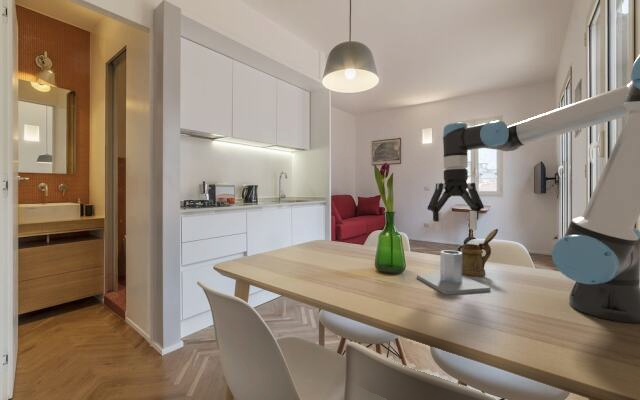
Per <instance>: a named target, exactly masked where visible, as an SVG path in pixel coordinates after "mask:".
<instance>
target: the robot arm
mask: <svg viewBox="0 0 640 400" xmlns="http://www.w3.org/2000/svg"><path fill="white" fill-rule="evenodd" d="M630 72H631V73H630V79H631V81H630V83H628V84H626V85H623V86H619V87H617V88H614V89H612V90H609V91H606V92H603V93H600V94H597V95H594V96H592V97H589V98H586V99H585V98H584V99H582V100H579V101H577V102H574V103H571V104H568V105H565V106H562V107H560V108H556V109H554V110H551V111H548V112H546V113H542V114H539V115H537V116H534V117H531V118H528V119H526V120H522V121H520V122H517V123H514V124H511V125H507V123H506V122H505V121H503V120H495V121H488V122H485V123H484V122H483V123H480V124H477V125H472V126H468V124H467V123H466V122H453V123H447V124H446V125H445V126H444V127H443V132H442V134H443V136H442V141H443V142H442V144H443V169H445V170H444V171H443V181H444V183H443V182H440V183H439V182H438V183H435V188H434V192H433V195H432V197H431V199H430V202H429V203H428V206H427V207H426V209H427V210H428V211H431V212H432V220H433V222H434V231H435V232H442V230H443V226H442V225H443V224H442V223H443V221H442V217H443V216H442V212H441V210H442V209H443V207H444V206H445V205H446V202H447V201H448V200H449V198H451V197H460V198H462V199H463V200H464V201H465V203H466V204H467V206H468V207H469V208H470V210H469V230H474V231H477V230H478V220H479V212H480V211H481V210H483V209H484V208H485V205H484V204H483V202H482V199H481V197H480V195H479V193H478V191H477V188H476V187H477V185H476V183H475V182H467V181H468V178H469V176H468V169H467V168H468V166H469V165H468V164H469V162H468V151H471V150H478V149H489V150H490V149H491V150H497V151H503V152H511V151H512V152H513V151H516V150H518V149H519V148H521V147H522V146H525V145H530V144H532V143H536V142H539V141H543V140H547V139H551V138H554V137H557V136H562V135H565V134H568V133H573V132H576V131H578V130H579V131H580V130H582V129H586V128H589V127H593V126H596V125H597V126H598V125H601V124H604V123H608V122H611V121H615V120H619V119H622V118H625V117H627V118H626V120H625V122H624V124H623V126H622V129H621V130H620V133H619V135H618V137H617V139H616V142H615V143H614V146H613V149H612V150H611V152H610V155H609V157H608V159H607V161H606V164H605V166H604V168H603V170H602V173H601V175H600V177H599V179H598V181H597V183H596V185H595V187H594V190H593V192H592V194H591V196H590V199H589V201H588V203H587V205H586V207H585V209H584V212H583V214H582V215H579V216H577V217H574V218H572V219H571V221H570V223H569V225H568V227H567V230H566V232H565V234H564V236H562V237H560V238H559V239H558V240H557V241H556V242H555V243H554V244H553V247H552V249H551V258H552V262H553V264H554V266H555V267H556V268H557V270H558V271H559V273H561V274H562V275H564V277H566V278H568V279H570V280H571V281H575V283H574V286H573V287H572V289H571V291H570V294H569V298H568V302H569V303H568V304H569V306H570V307H572V308H574V309H575V310H577V311H578V312H579V311H580V312H582V313H585V314H587V315H590V316H593V317H596V318H601V319H605V320H610V321H615V322H621V323H631V324H640V230H639V229H638V228H635V225H636V223H637V220H638V219H639V217H640V54H639V55H638V56H637V57H636V59H635V61H634V63H633V64H632V67H631V71H630ZM443 190H444V192H443Z"/></svg>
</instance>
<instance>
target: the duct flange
mask: <svg viewBox="0 0 640 400" xmlns="http://www.w3.org/2000/svg"><path fill="white" fill-rule="evenodd" d="M416 279H418V280H420V281H421V282H423V283H425V284H427V285H429V286H430V287H432V288H434V289H435V290H437V291H438V292H440V293H442V294H443V295H446V296H449V295H450V296H451V295H462V294H473V293H483V292H484V293H486V292H491V290H492V289H491V287H490V286H487V285H486V284H483V283H481V282H478V281H477V280H474V279H472V278H470V277H467V276H466V275H464V274H462V282H461V283H458V284H452V283H446V282H443V281H441V280H440V272H438V273H421V274H416Z"/></svg>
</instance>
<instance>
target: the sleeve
mask: <svg viewBox="0 0 640 400" xmlns="http://www.w3.org/2000/svg"><path fill="white" fill-rule="evenodd" d="M439 258H440V260H439V261H440V262H439V263H440V264H439V265H440V266H439V267H440V268H439V269H440V272H439V273H440V280H441V281H443V282H446V283H452V284H458V283H461V282H462V275H463V274H462V251H459V250H451V249H446V250H445V249H444V250H441V251H440V257H439Z"/></svg>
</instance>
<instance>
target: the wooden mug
mask: <svg viewBox="0 0 640 400" xmlns="http://www.w3.org/2000/svg"><path fill="white" fill-rule="evenodd" d="M498 233H499V229H498V228H496V229H494V230H492V231H490V233H488V235H487V236H486V237H485V238H484V241H483V242H482V243H478V244H473V243H463V245H462V248H461V252H462V275H463V276H468V277H484V276H485V275H486V270H485V265H486V263H487V262H488V260H489V258H490V256H491V254H492V248H491V246H490V244H489V243H491V241H493V239H495V237H496V236H497V234H498ZM483 250H484V251H485V254H484V255H483V253H484V251H483Z"/></svg>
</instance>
